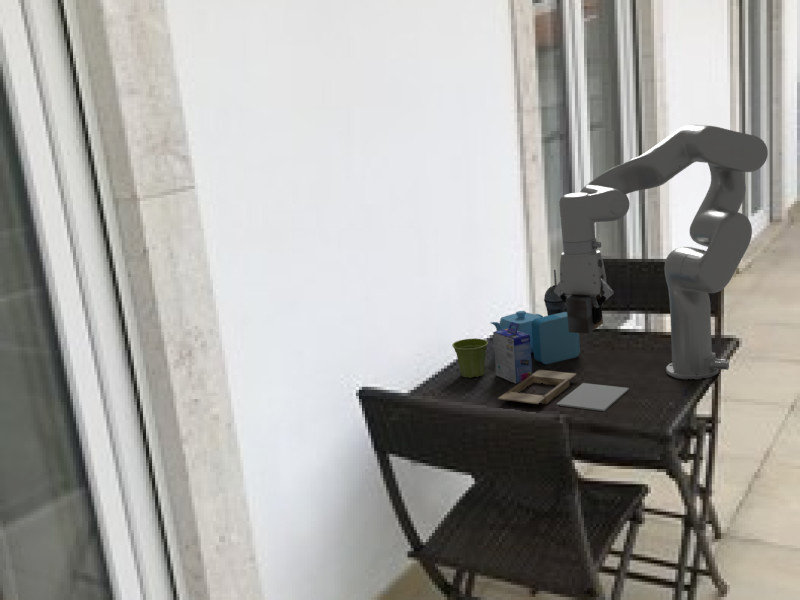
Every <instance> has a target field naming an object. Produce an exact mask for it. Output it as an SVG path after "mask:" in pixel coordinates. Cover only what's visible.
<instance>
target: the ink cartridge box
mask: <svg viewBox="0 0 800 600" xmlns="http://www.w3.org/2000/svg"><path fill="white" fill-rule="evenodd" d="M513 325H514V326H515V327H516V329H513V328H511V326H513ZM518 327H519V324H517V323H514V322H511V324H510V326H509V328H508V329H503V330H499V331H497V330H495V331H493V332H492V333H493V348H494V350H493V351H494V363H495V376H497V377H500V378H502V379H504V380H506V381H509V382H511V383H514V384H516V385H518V384H519V383H520V382H522V381H523V380H525V379H526V378H528V377H529V376H530V375H532V374H533V368H532V367H533V366H532V353H531V347H530V335H529V334H526V333H522V332H519V331H517V330H518Z"/></svg>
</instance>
